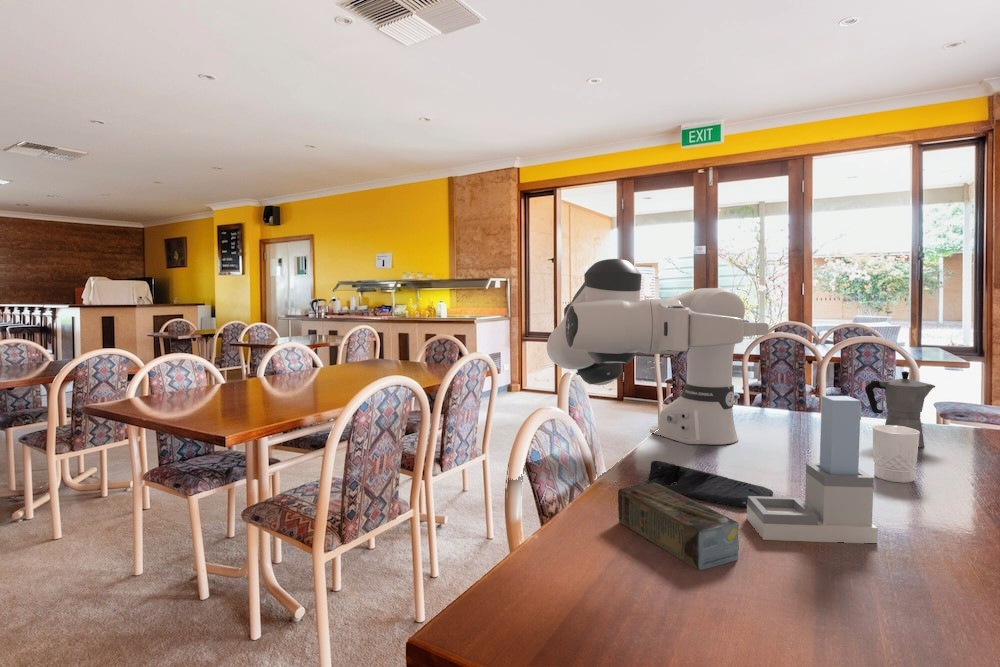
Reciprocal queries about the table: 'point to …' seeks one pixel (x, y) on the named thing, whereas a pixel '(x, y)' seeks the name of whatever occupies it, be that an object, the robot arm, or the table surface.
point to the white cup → (895, 452)
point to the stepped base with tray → (819, 510)
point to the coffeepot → (901, 401)
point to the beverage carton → (679, 525)
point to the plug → (840, 435)
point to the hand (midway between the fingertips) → (757, 327)
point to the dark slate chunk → (704, 484)
